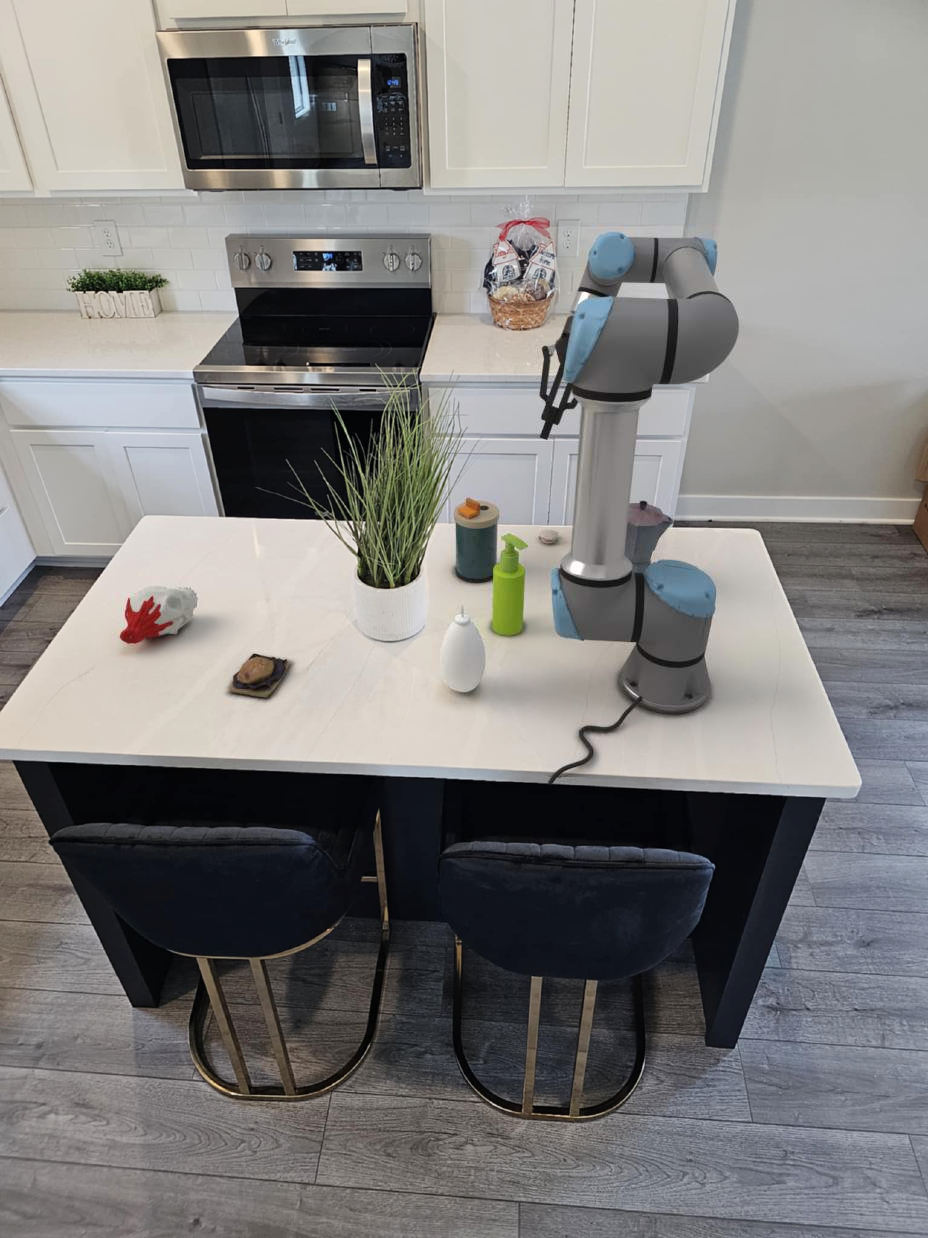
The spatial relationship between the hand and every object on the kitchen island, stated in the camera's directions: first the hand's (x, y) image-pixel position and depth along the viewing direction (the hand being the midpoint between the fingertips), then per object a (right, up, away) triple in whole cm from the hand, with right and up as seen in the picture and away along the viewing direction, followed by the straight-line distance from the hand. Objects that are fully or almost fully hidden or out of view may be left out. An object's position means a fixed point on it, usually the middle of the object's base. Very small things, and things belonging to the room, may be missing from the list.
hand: (543, 438), depth 169 cm
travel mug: (-13, -26, +12) cm, 31 cm away
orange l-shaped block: (-15, -15, +2) cm, 21 cm away
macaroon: (+3, -18, +22) cm, 29 cm away
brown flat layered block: (-52, -47, -17) cm, 72 cm away
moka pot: (+18, -29, +7) cm, 35 cm away
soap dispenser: (-7, -38, -5) cm, 39 cm away
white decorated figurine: (-75, -39, -5) cm, 84 cm away
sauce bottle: (-16, -48, -19) cm, 55 cm away
